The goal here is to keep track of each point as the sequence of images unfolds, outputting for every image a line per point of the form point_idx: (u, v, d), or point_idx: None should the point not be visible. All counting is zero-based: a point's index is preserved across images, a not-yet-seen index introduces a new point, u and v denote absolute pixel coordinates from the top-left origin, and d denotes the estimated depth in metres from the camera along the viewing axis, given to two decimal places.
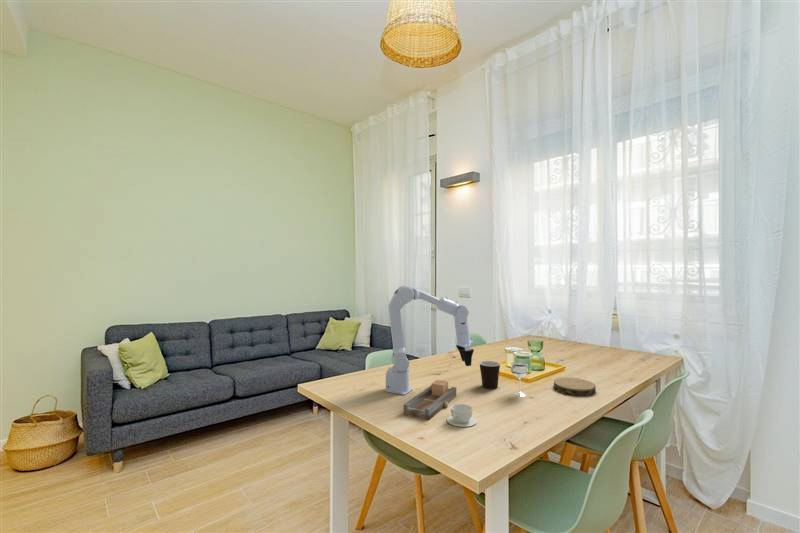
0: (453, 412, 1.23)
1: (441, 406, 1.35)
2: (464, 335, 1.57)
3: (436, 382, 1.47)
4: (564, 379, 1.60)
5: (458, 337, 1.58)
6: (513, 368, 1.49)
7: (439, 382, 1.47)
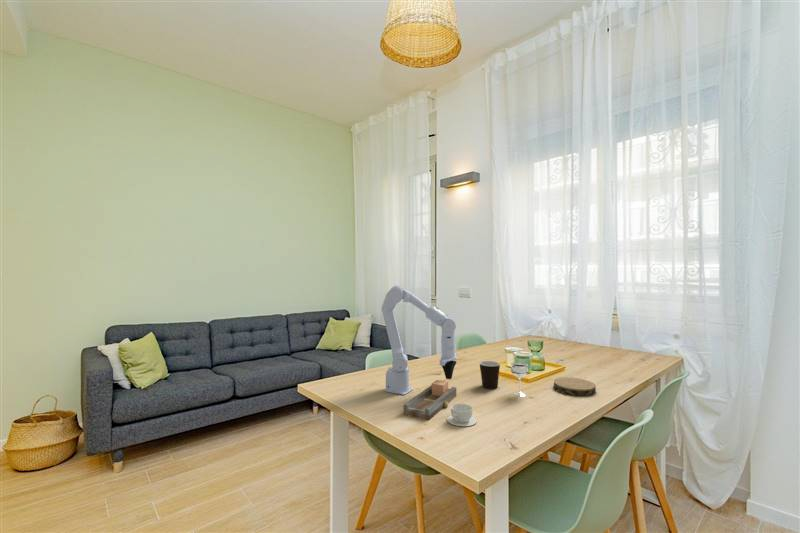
0: (453, 412, 1.23)
1: (441, 406, 1.35)
2: (446, 349, 1.52)
3: (436, 382, 1.47)
4: (564, 379, 1.60)
5: (441, 350, 1.55)
6: (513, 368, 1.49)
7: (439, 382, 1.47)
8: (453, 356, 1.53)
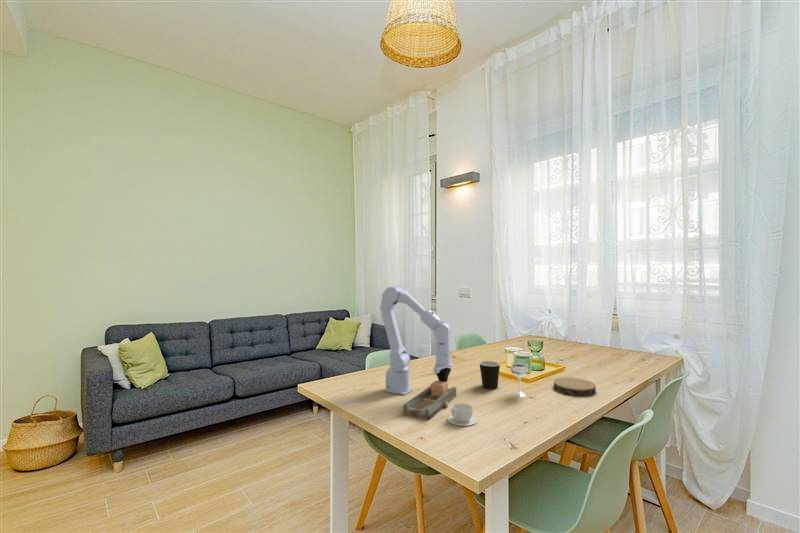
0: (454, 411, 1.24)
1: (441, 406, 1.35)
2: (440, 356, 1.47)
3: (435, 382, 1.47)
4: (564, 379, 1.60)
5: (436, 357, 1.50)
6: (513, 368, 1.49)
7: (439, 382, 1.47)
8: (448, 363, 1.48)
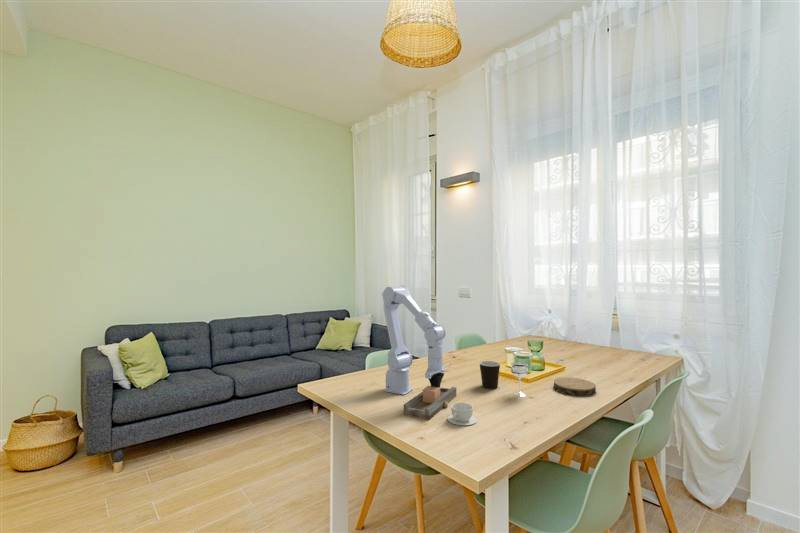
0: (454, 411, 1.24)
1: (441, 406, 1.35)
2: (432, 361, 1.41)
3: (427, 388, 1.40)
4: (564, 379, 1.60)
5: (428, 361, 1.43)
6: (513, 368, 1.49)
7: (431, 388, 1.40)
8: (440, 368, 1.41)
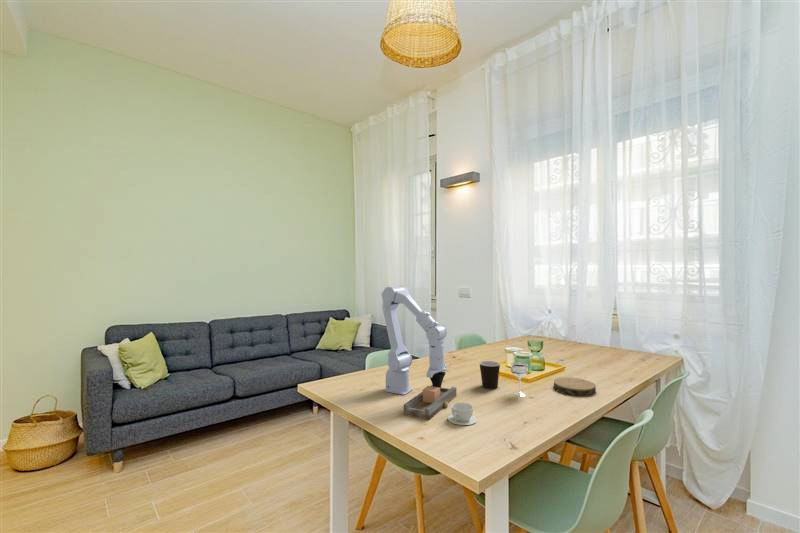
0: (454, 410, 1.24)
1: (441, 406, 1.35)
2: (434, 360, 1.42)
3: (427, 388, 1.40)
4: (564, 379, 1.60)
5: (429, 360, 1.44)
6: (513, 368, 1.49)
7: (431, 388, 1.40)
8: (442, 367, 1.42)
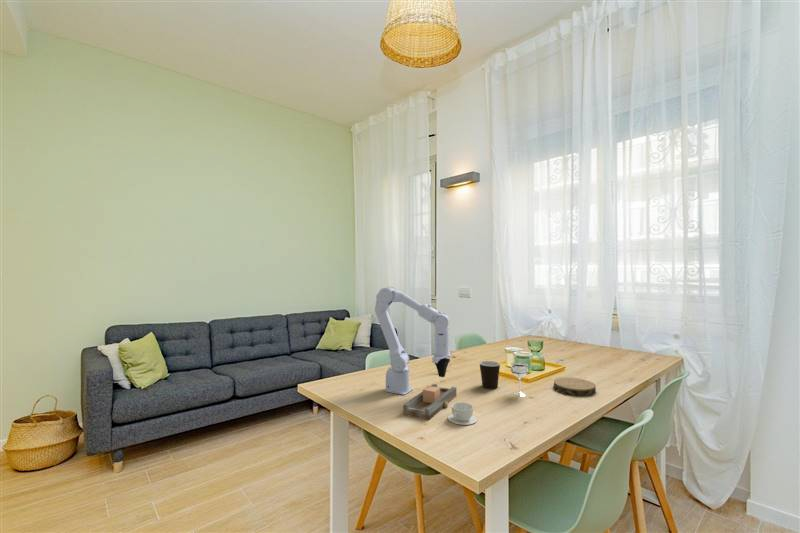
0: (454, 410, 1.24)
1: (441, 406, 1.35)
2: (439, 347, 1.49)
3: (427, 388, 1.40)
4: (564, 379, 1.60)
5: (435, 347, 1.52)
6: (513, 368, 1.49)
7: (431, 388, 1.40)
8: (446, 354, 1.50)
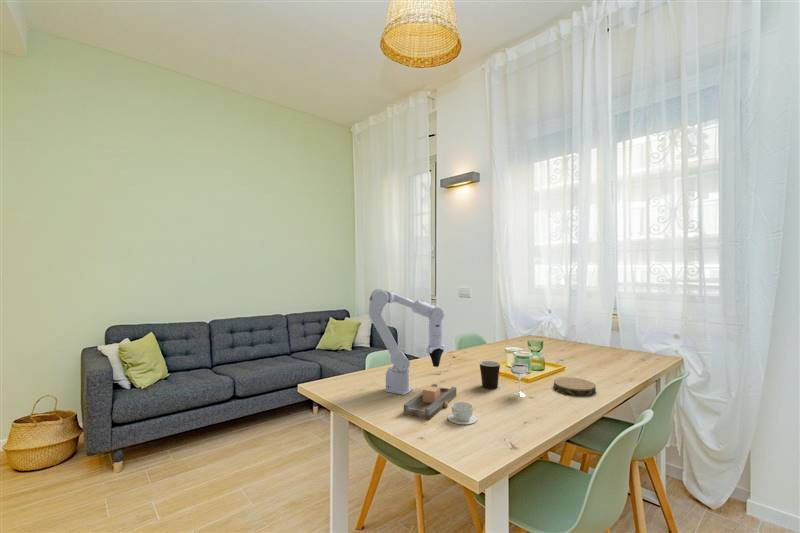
0: (454, 410, 1.25)
1: (441, 406, 1.35)
2: (433, 337, 1.56)
3: (427, 388, 1.40)
4: (564, 379, 1.60)
5: (429, 338, 1.58)
6: (513, 368, 1.49)
7: (431, 388, 1.40)
8: (440, 344, 1.56)
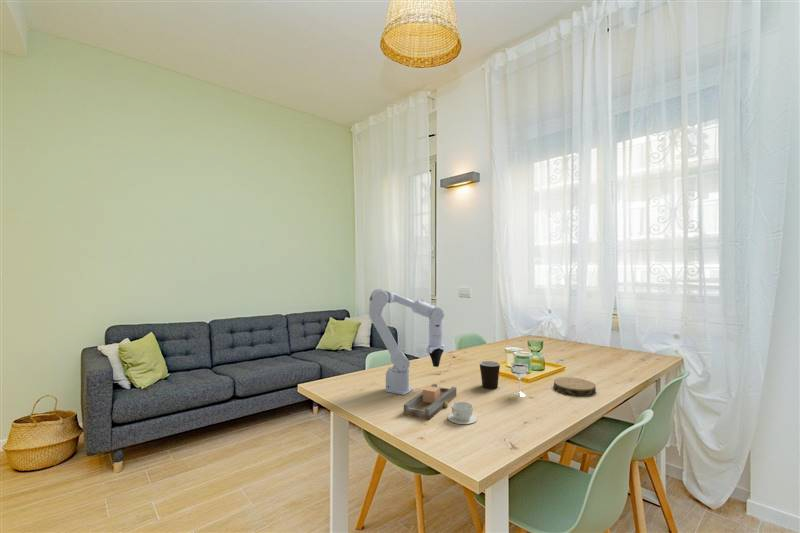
0: (454, 410, 1.25)
1: (441, 406, 1.35)
2: (433, 337, 1.56)
3: (427, 388, 1.40)
4: (564, 379, 1.60)
5: (429, 338, 1.58)
6: (513, 368, 1.49)
7: (431, 388, 1.40)
8: (440, 344, 1.56)
